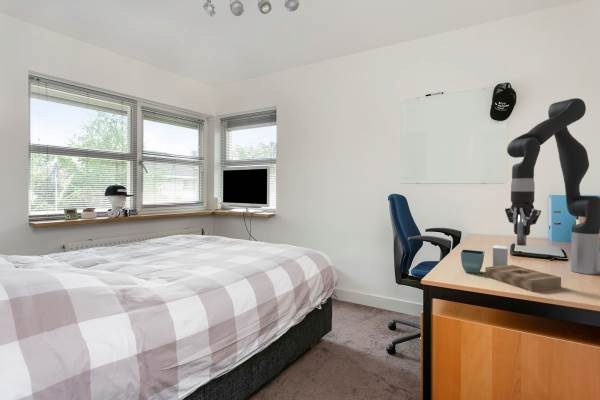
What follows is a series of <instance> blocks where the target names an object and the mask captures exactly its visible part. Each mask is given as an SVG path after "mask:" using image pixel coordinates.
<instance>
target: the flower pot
mask: <svg viewBox="0 0 600 400" xmlns="http://www.w3.org/2000/svg"><path fill="white" fill-rule="evenodd" d="M484 257H485V251H483V250H475V249H474V250H473V249H464V248H463V249H461V252H460V260H461V261H460V262H461V267H462V269H463V270H464V272H465V273H472V274H479V273H480V272H481V269H482V267H483V263H484V260H485V259H484Z"/></svg>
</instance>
